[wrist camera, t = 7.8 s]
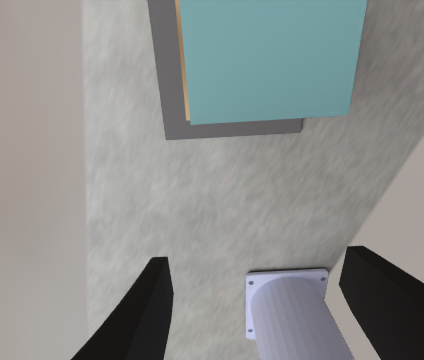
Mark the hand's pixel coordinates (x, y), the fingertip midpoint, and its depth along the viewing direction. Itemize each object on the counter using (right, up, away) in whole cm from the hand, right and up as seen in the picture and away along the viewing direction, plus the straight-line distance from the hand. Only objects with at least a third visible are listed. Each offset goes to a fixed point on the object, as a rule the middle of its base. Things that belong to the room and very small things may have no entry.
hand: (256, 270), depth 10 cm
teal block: (0, +9, 0) cm, 9 cm away
